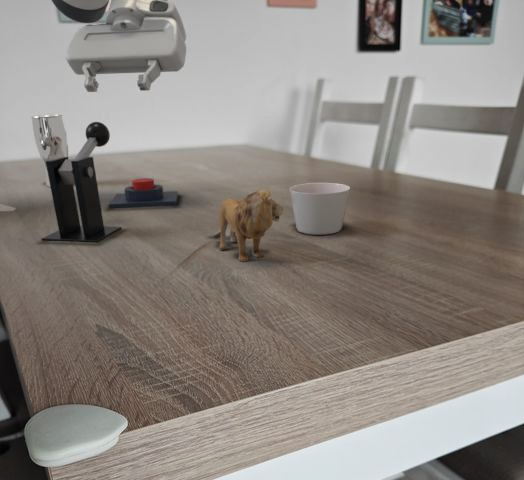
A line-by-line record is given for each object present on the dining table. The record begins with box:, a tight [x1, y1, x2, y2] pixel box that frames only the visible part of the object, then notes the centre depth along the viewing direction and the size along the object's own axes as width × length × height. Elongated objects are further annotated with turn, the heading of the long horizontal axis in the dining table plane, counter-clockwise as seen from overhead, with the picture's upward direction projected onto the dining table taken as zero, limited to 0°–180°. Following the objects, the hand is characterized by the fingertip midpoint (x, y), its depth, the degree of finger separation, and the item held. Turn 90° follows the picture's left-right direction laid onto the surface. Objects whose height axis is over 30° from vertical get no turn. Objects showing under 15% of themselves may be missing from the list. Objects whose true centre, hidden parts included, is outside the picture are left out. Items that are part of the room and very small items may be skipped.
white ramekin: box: [289, 182, 351, 236], centre depth 84 cm, size 9×9×6 cm
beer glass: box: [31, 114, 69, 188], centre depth 126 cm, size 7×7×15 cm
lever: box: [58, 121, 111, 186], centre depth 83 cm, size 13×4×4 cm, turn 167°
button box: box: [108, 183, 180, 210], centre depth 104 cm, size 12×10×4 cm
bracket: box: [41, 156, 123, 244], centre depth 81 cm, size 8×9×12 cm
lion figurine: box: [213, 189, 285, 262], centre depth 74 cm, size 15×5×9 cm, turn 35°
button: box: [131, 177, 155, 190], centre depth 103 cm, size 4×4×2 cm
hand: (116, 88), depth 90 cm, fingers open, 8 cm apart
